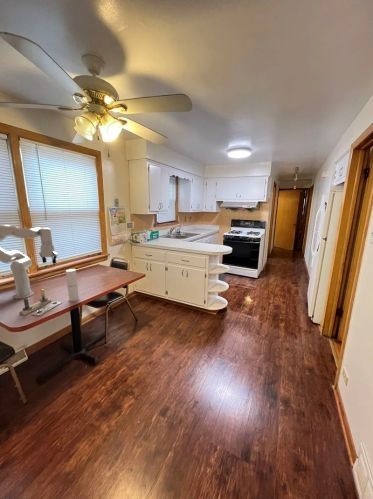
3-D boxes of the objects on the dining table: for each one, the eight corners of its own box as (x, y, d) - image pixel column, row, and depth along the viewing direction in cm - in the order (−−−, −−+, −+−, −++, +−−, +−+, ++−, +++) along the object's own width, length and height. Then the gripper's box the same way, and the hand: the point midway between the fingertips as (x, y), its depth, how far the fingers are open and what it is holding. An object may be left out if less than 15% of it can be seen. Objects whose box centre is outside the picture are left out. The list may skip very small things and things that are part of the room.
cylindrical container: (67, 300, 169) (63, 271, 164) (74, 296, 176) (71, 268, 171) (73, 301, 167) (70, 272, 162) (80, 298, 174) (77, 269, 168)
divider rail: (19, 314, 148) (17, 301, 145) (45, 300, 169) (44, 289, 167) (25, 315, 147) (23, 302, 145) (51, 301, 168) (49, 289, 166)
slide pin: (39, 300, 163) (37, 290, 161) (42, 299, 166) (41, 288, 164) (44, 301, 162) (43, 290, 160) (48, 299, 165) (46, 289, 163)
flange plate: (31, 314, 147) (31, 313, 147) (54, 302, 166) (54, 301, 166) (40, 316, 146) (39, 314, 145) (61, 303, 165) (61, 301, 164)
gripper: (34, 243, 169) (37, 263, 173) (51, 244, 165) (54, 264, 169) (42, 241, 176) (44, 261, 180) (59, 242, 173) (61, 262, 176)
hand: (49, 262), depth 174 cm, fingers open, 9 cm apart
